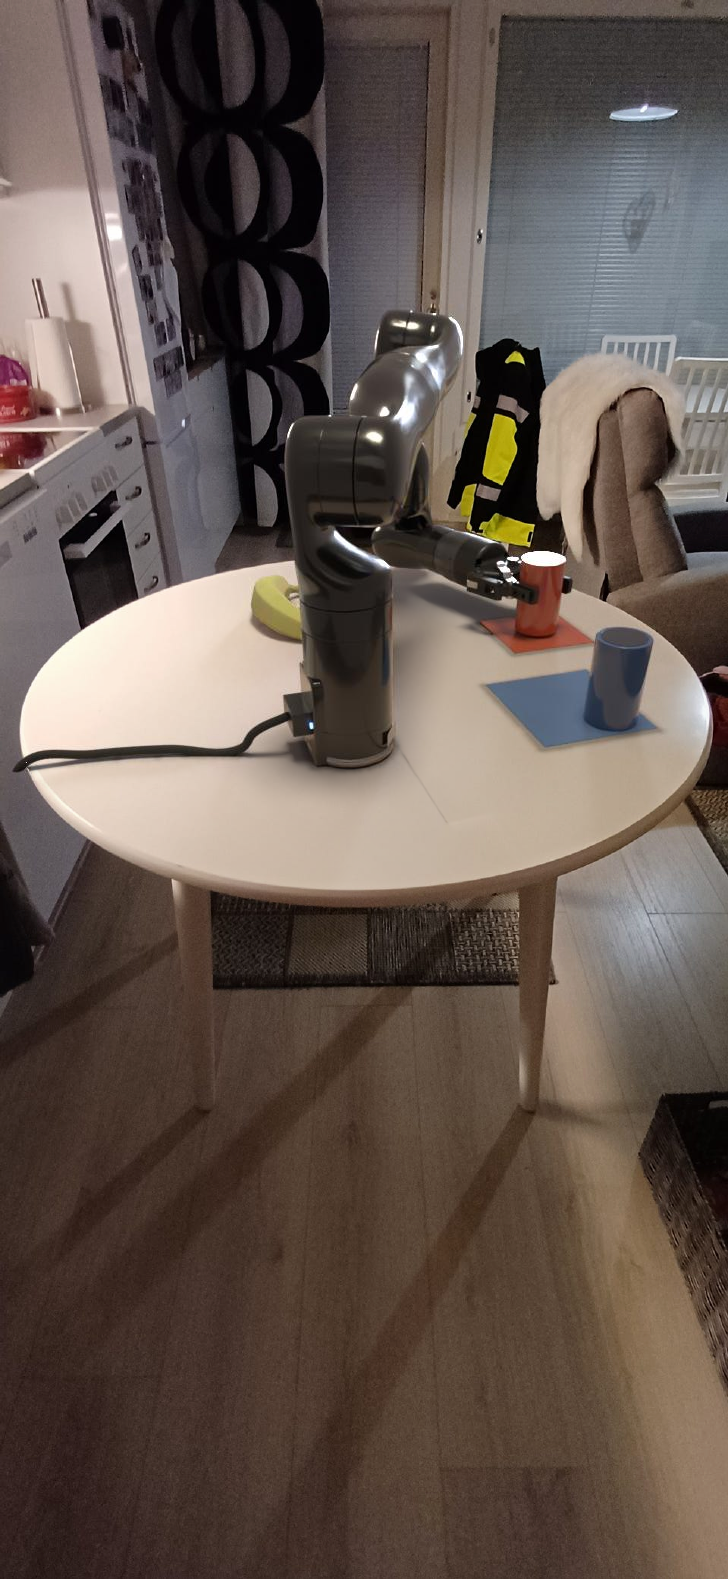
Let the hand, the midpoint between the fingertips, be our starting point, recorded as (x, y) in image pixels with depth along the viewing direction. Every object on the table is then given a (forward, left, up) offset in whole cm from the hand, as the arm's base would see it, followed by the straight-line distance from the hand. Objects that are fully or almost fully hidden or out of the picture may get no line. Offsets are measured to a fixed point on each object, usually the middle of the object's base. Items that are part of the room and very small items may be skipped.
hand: (553, 591), depth 105 cm
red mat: (-1, +2, -7) cm, 7 cm away
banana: (-32, +20, -7) cm, 39 cm away
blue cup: (-4, -24, -6) cm, 25 cm away
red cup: (-1, +2, -6) cm, 6 cm away
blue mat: (-7, -19, -7) cm, 22 cm away
